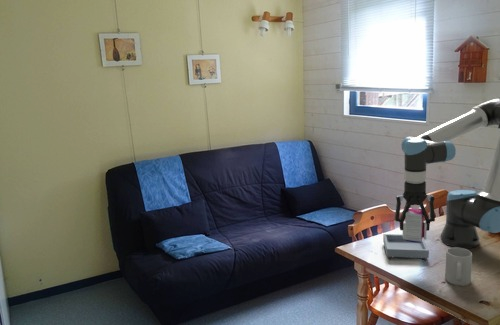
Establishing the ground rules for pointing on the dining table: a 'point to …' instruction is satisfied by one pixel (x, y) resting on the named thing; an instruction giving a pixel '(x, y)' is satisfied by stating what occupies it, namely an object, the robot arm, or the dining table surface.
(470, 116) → the robot arm
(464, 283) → the mug
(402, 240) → the grey tray
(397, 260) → the dining table surface
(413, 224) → the supplement box
